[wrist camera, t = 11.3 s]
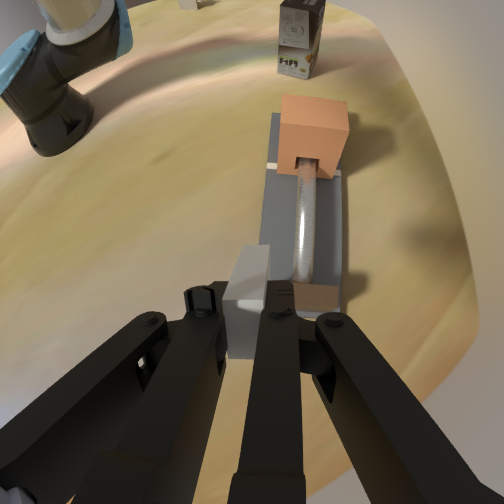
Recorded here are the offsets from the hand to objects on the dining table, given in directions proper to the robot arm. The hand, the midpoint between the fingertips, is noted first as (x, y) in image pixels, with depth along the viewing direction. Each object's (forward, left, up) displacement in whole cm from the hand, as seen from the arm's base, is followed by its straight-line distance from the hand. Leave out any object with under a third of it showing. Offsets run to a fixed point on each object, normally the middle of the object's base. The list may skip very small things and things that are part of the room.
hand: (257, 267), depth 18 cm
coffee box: (-45, +20, -23) cm, 54 cm away
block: (-19, +12, -21) cm, 31 cm away
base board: (-14, +10, -23) cm, 28 cm away
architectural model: (-82, +2, -24) cm, 85 cm away
